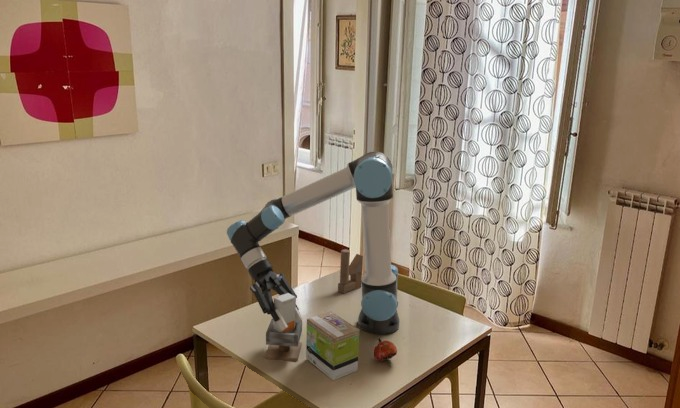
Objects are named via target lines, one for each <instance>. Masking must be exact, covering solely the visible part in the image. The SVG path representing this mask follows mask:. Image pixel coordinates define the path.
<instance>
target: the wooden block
mask: <svg viewBox="0 0 680 408" xmlns="http://www.w3.org/2000/svg"><path fill="white" fill-rule="evenodd" d="M350 254H351V253H350V250H349V249H347V248H346V249H345V248H344V249H341V250H340V267H339V269H340V271H339V282H338V284H337V291H338V292H339V293H342V294H346V293H349V292H352V291H354V290H357V289H360V288H362V282H361V278H362V276H363V264H364V263H363V262H364V261H363V260H364V259H363V258H364V255H362V254H359V253H356V254H355V256H354V257H353V259H352V261H351V262H350V257H351V256H350Z"/></svg>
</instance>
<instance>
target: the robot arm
mask: <svg viewBox="0 0 680 408" xmlns="http://www.w3.org/2000/svg"><path fill="white" fill-rule="evenodd" d="M393 180H394V179H393V165H392V162H391V160H390V158H389V157H388V156H387V155H386V154H384V153H383V152H380V151H368V152H366V153H364V154H363V155H362V156H360V157H357V158H356V159H354V160H352V161H350V162H348V163H347V165H346V167H344V168H342V169H340V170H338V171H336V172H334V173H331V174H329V175H326V176H325V177H322V178H320V179H318V180H316V181H314V182H312V183H309V184H307V185H305V186H303V187H300V188H298V189H296V190H293V191H292V192H290V193H288V194H285V195H283V196H281V197H279V198H273V199H271V200H270V201H267V202H266V203H265V205H264V207H263V208H262V209H261V210H260V211H259V212H258V213H257V214H256V215H255V216H254V217H253V218H251V219H250V220H249V221H247V222H246V221H245V220H238V221H236V222H235V223H232V224H230V226H228V227H227V230H226V235H227V237H228V239H229V241H230V244H231V245H232V246H233V248H234V250H235V251H236V253H237V254H238V256H239V258H240V260H241V262H242V263H243V265H244V268H245V269H247V271H248V274H249V275H250V277H251V280H253V281H254V283H253V284H252V285H251V286H250V287H249V290H250V291H251V292H252V293H253V294H254V296H255V299H256V300H257V303H258V305H259V307H260V309H261V311H262V312H263V314H267V315H271V317H272V318H271V319H274V321H275V322H277V323H278V325H279V327H280V329H281V330H282V331H283V330H285V329H286V328H287V327H288V326H287V324H286V322H285V321H284V319H283V317H282V315H281V314H280V312H279V310H278V309H276V310H275V306H274V298H273V296H272V292H271V291H272V290H273V291H275V293H277V294H278V296H280V295H283V294H287V293H289V294H291V295H293V296H295V297H296V299H298V295H297V293H296V292H295V291H294V290H293V288H292V286H291V285H290V284H289V282H288V280H287V279H286V276H285V275H284V273H283V272H280V273H279V274H277V273H276V272H274V271H273V266H272V264H271V262H270V261H269V259H267V255H266V254H265V252H264V250H263V249H262V247H261V245H260V243H259V242H261V241H262V240H264V239H265V238H266V237H267V236H269V235H270V234H272V233H273V232H274V231H276V230H278V229H279V227H281V226H282V225H283V224H284V223H285V220H286V219H289V218H290V217H292V216H294V215H296V214H298V213H301V212H303V211H306V210H308V209H310V208H312V207H314V206H317V205H319V204H322V203H324V202H327V201H328V200H331V199H332V198H335V197H337V196H339V195H341V194H344V193H347V192H348V191H351V190H353V189H355V194H356V195H355V196H356V201H357V202H358V203H360V204H361V216H362V217H361V219H362V234H363V236H362V237H363V249H364V250H363V251H364V255H363V256H364V274H362V278H361V295H362V297H361V304H360V305H361V310H360V311H359V314H358V317H357V325H358V327H359V328H360V329H361V330H362V331H364V332H367V333H370V334H374V335H375V334H376V335H386V334H387V335H389V334H392V333H394V332H396V331H397V330H398V329H400V323H401V322H400V317H399V313H398V307H399V302H398V276H399V269H398V267H397V266H395V265H394V264H392V256H391V255H392V253H391V250H392V249H391V235H390V234H391V232H390V209H389V207H390V205H389V203H390V202H391V200H392V199H393V198H394V192H393ZM299 310H300V309H299V307H298V305H297V304H296V312H295V320H296V322H297V323H299V322H300V321H301V320H302V321H303V320H304V318H303V316H302V314H301V312H299Z"/></svg>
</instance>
